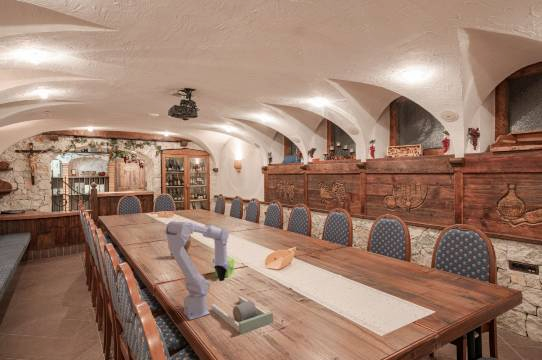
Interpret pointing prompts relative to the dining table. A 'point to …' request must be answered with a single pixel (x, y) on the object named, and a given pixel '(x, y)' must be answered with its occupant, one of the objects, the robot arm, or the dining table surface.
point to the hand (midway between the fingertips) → (221, 280)
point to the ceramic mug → (244, 311)
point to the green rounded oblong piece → (229, 271)
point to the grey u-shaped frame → (250, 323)
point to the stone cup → (186, 246)
